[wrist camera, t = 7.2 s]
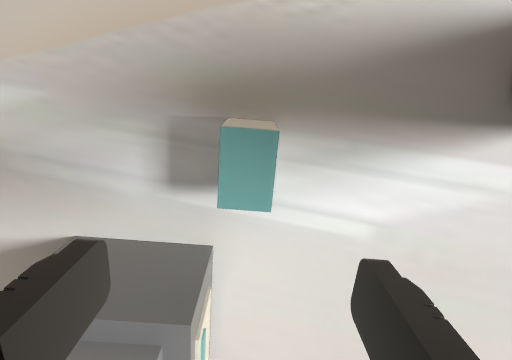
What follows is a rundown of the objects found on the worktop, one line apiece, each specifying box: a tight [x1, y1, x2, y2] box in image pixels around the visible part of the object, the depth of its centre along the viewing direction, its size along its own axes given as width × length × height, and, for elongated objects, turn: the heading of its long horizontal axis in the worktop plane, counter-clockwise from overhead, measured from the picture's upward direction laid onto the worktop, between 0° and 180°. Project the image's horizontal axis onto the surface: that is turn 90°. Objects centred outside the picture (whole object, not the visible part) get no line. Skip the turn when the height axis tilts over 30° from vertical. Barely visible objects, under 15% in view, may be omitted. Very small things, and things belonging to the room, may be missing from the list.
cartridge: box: [217, 118, 279, 212], centre depth 23 cm, size 4×6×6 cm, turn 175°
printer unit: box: [52, 236, 213, 360], centre depth 25 cm, size 15×16×12 cm
